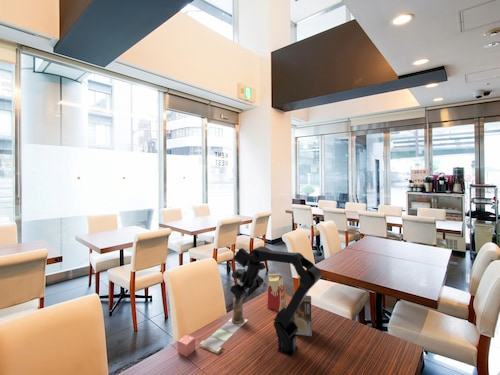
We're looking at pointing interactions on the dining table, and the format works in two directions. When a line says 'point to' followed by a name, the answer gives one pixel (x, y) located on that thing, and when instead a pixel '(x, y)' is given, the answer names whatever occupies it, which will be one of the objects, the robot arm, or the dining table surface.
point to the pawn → (237, 312)
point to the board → (220, 337)
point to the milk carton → (276, 293)
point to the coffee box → (304, 317)
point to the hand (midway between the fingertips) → (242, 299)
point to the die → (186, 345)
